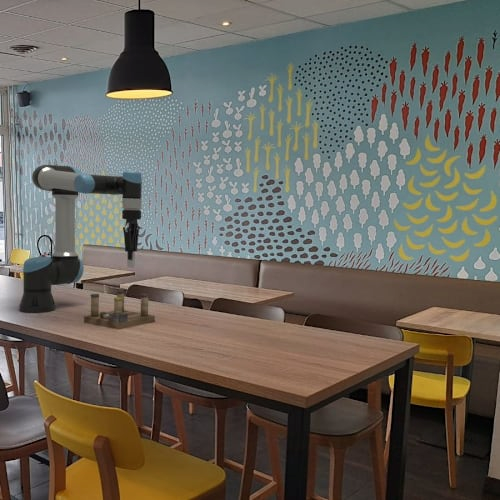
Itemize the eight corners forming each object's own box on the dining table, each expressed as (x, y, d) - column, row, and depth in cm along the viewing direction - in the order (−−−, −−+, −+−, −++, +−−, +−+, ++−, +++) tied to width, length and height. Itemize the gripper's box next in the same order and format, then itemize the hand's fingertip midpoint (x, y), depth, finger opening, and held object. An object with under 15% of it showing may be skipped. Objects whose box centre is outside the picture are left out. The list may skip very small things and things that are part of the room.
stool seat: (83, 322, 234) (84, 294, 233) (120, 315, 250) (121, 289, 249) (118, 329, 223) (118, 300, 222) (154, 321, 239) (155, 294, 238)
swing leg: (98, 317, 231) (98, 295, 230) (104, 315, 233) (104, 294, 233) (117, 321, 224) (117, 298, 223) (123, 320, 226) (124, 297, 226)
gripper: (128, 209, 241) (128, 265, 242) (116, 209, 228) (116, 268, 230) (146, 209, 240) (145, 266, 241) (134, 209, 227) (134, 269, 228)
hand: (131, 267), depth 235 cm, fingers closed
